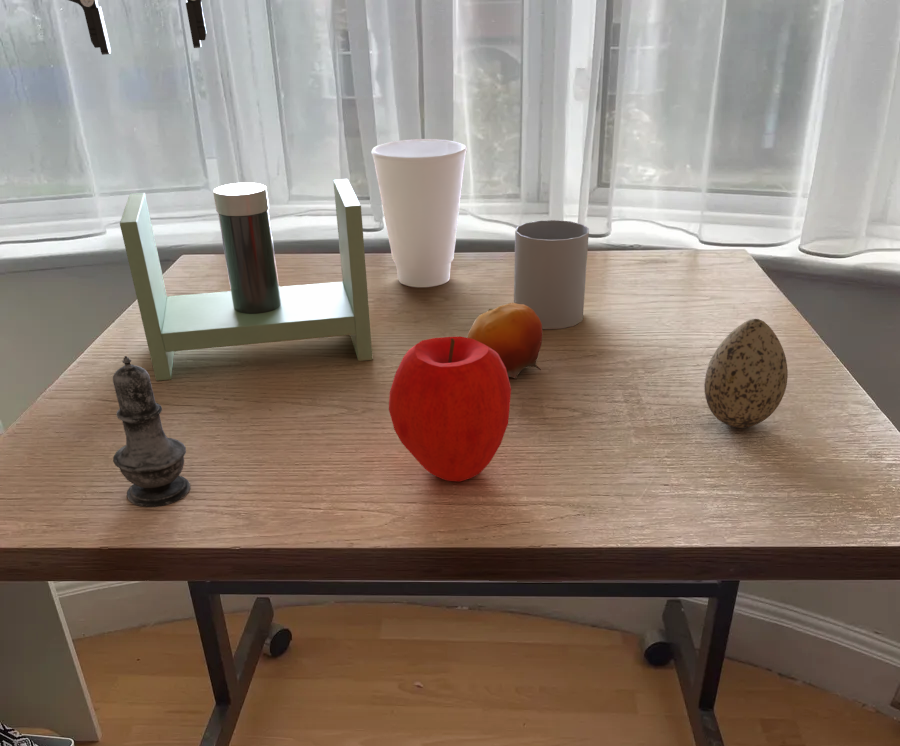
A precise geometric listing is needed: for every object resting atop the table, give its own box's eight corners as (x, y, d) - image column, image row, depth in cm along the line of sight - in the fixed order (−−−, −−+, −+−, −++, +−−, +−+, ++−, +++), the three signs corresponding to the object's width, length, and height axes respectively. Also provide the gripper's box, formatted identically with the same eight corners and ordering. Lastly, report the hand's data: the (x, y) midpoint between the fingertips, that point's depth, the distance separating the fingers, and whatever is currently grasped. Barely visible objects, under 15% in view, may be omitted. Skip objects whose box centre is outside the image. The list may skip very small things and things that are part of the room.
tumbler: (232, 316, 96) (212, 196, 89) (232, 299, 100) (213, 184, 93) (283, 312, 97) (267, 193, 90) (281, 295, 101) (265, 181, 94)
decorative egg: (697, 438, 82) (715, 332, 76) (698, 405, 88) (714, 303, 82) (779, 444, 81) (803, 337, 75) (774, 410, 87) (796, 308, 81)
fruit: (530, 381, 90) (497, 305, 88) (475, 402, 95) (443, 332, 93) (572, 355, 95) (541, 283, 93) (517, 377, 101) (487, 309, 98)
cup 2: (503, 323, 107) (504, 236, 101) (526, 301, 113) (528, 217, 107) (572, 332, 104) (577, 243, 98) (591, 309, 110) (598, 223, 104)
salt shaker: (127, 514, 74) (88, 376, 66) (119, 482, 78) (83, 348, 71) (199, 499, 75) (169, 363, 68) (188, 468, 80) (159, 337, 73)
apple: (377, 492, 76) (365, 353, 68) (419, 440, 83) (413, 310, 76) (489, 511, 73) (490, 368, 66) (523, 456, 80) (527, 322, 73)
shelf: (156, 381, 95) (119, 222, 86) (161, 340, 105) (129, 193, 95) (372, 359, 99) (361, 205, 89) (359, 322, 108) (347, 178, 98)
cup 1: (361, 281, 120) (351, 150, 110) (420, 260, 127) (415, 135, 118) (428, 299, 114) (423, 162, 104) (486, 275, 121) (486, 145, 111)
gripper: (192, -172, 80) (227, 41, 90) (26, -166, 78) (80, 51, 88) (190, -179, 74) (227, 50, 84) (10, -173, 72) (70, 60, 82)
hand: (152, 50), depth 86 cm, fingers open, 8 cm apart
